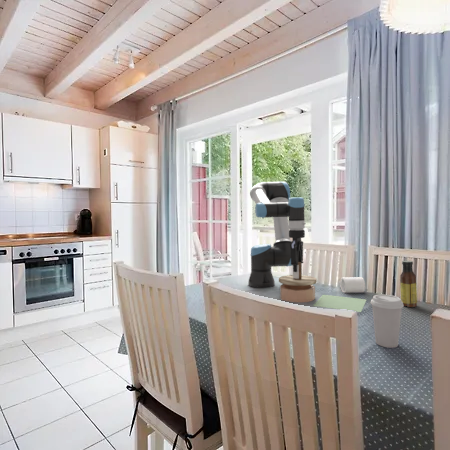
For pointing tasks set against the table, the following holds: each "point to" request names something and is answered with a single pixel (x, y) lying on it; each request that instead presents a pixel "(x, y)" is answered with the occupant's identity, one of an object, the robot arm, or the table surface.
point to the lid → (301, 281)
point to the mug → (352, 284)
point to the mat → (340, 303)
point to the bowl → (297, 293)
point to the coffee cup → (387, 319)
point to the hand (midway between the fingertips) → (297, 277)
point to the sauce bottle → (408, 285)
